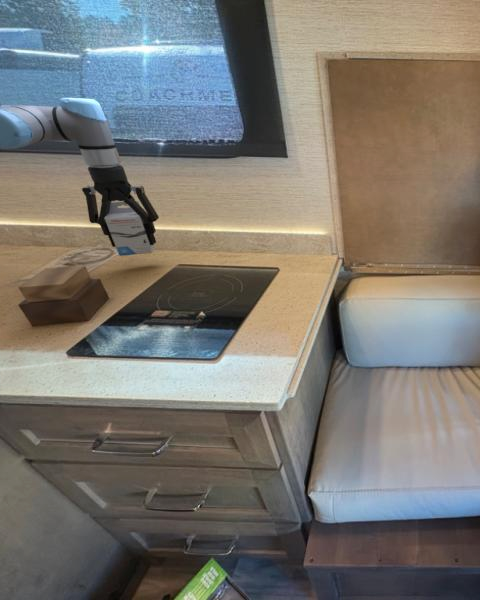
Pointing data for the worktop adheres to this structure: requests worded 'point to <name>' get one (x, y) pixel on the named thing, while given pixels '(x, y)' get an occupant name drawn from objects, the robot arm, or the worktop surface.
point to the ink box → (127, 230)
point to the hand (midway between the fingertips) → (135, 244)
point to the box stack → (62, 296)
